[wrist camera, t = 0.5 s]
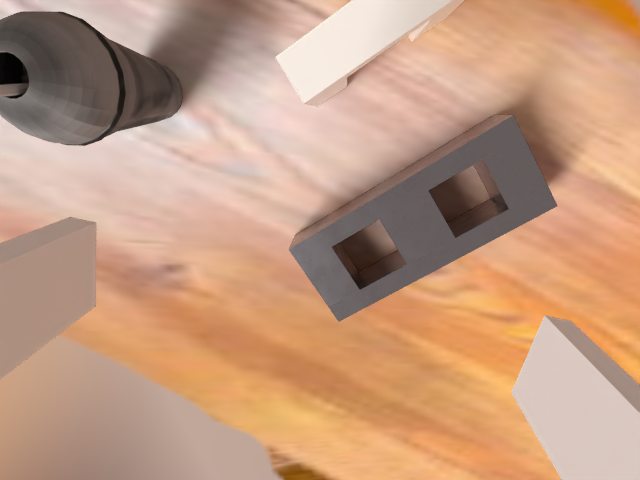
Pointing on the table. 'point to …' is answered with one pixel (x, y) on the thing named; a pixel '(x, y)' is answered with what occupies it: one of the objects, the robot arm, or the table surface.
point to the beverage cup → (77, 80)
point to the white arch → (355, 42)
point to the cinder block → (425, 217)
